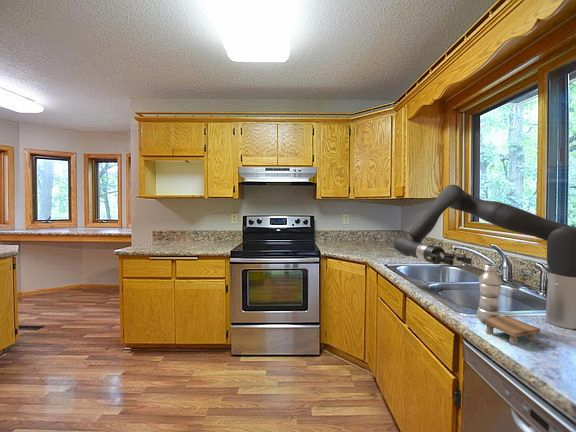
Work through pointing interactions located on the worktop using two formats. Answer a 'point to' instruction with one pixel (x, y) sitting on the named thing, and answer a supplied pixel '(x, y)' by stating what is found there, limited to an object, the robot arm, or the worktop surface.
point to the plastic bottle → (489, 293)
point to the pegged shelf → (511, 328)
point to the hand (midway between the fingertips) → (461, 262)
